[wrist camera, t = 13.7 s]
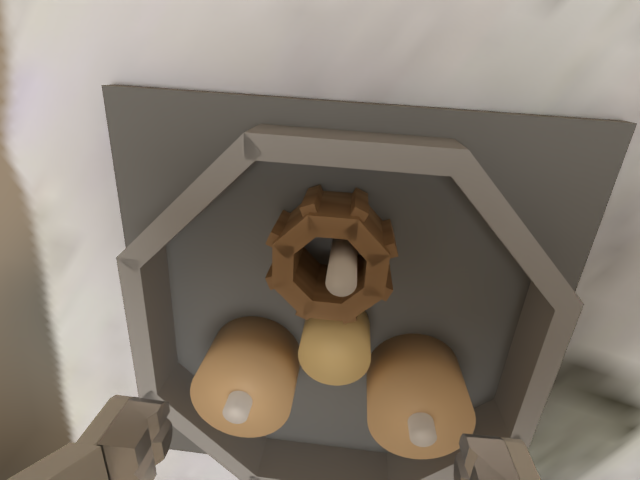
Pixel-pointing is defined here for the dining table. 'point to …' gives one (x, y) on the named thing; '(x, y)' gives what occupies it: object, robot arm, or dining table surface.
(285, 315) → the grey octagonal tray
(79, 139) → the dining table surface
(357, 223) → the planet gear
